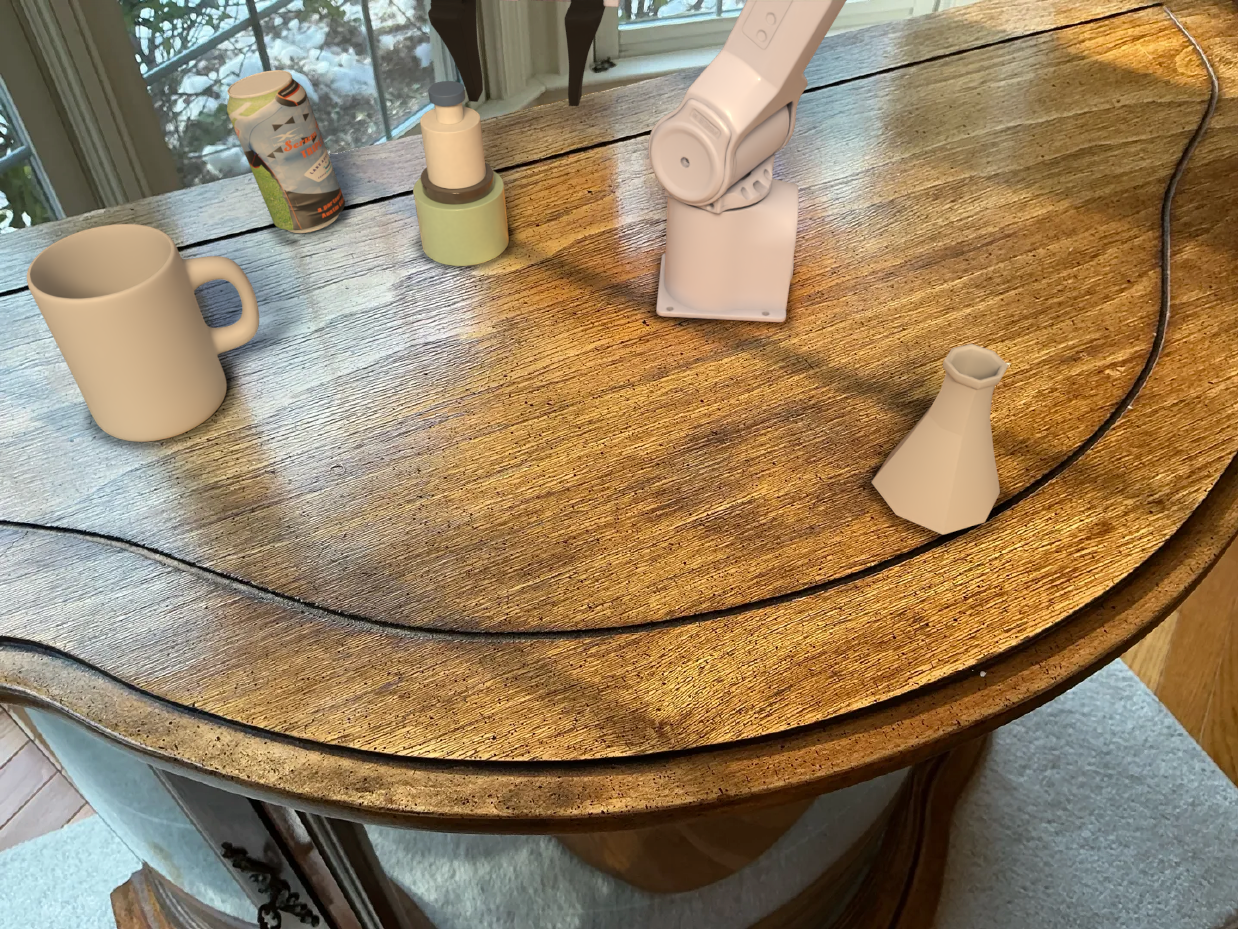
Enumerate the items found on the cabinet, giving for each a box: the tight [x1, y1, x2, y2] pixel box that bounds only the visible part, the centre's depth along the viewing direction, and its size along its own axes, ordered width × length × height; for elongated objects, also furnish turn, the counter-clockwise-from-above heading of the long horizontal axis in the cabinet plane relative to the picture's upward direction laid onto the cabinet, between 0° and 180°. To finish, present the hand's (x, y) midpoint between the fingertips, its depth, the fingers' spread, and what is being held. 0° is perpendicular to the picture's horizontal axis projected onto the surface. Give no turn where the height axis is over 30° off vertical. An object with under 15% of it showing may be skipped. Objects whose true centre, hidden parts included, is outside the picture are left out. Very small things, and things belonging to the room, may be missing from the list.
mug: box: [26, 223, 260, 443], centre depth 63 cm, size 12×8×11 cm
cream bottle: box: [419, 80, 486, 189], centre depth 73 cm, size 4×4×7 cm
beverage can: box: [226, 69, 346, 234], centre depth 78 cm, size 6×7×12 cm
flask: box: [871, 343, 1009, 535], centre depth 56 cm, size 7×7×10 cm
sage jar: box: [412, 162, 510, 267], centre depth 78 cm, size 7×7×6 cm
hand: (525, 98), depth 75 cm, fingers open, 7 cm apart
